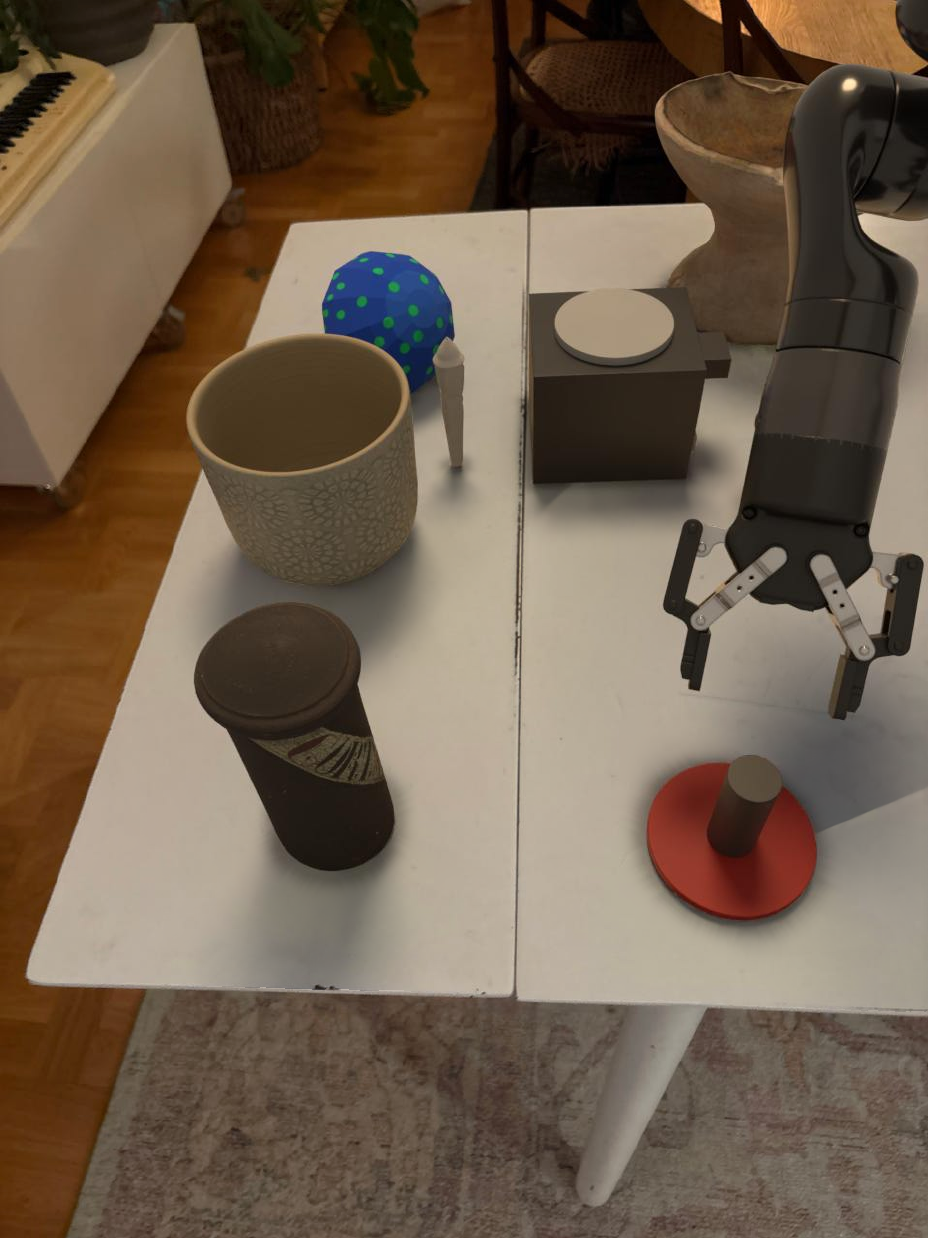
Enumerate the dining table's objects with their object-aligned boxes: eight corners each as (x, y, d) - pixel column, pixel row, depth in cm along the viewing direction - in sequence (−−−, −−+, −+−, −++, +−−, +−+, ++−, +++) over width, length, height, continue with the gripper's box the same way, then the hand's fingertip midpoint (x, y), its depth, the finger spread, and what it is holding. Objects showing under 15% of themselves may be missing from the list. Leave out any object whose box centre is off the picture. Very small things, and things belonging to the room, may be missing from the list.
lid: (794, 766, 64) (826, 698, 57) (831, 920, 57) (873, 865, 51) (638, 769, 65) (651, 702, 58) (656, 922, 58) (674, 867, 51)
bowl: (901, 368, 91) (979, 167, 75) (647, 374, 92) (671, 178, 76) (844, 232, 106) (898, 42, 91) (627, 240, 108) (644, 54, 92)
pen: (439, 460, 86) (426, 332, 75) (465, 452, 86) (456, 324, 75) (448, 477, 85) (436, 349, 74) (475, 468, 85) (467, 340, 74)
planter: (226, 496, 85) (176, 358, 72) (402, 455, 87) (381, 314, 75) (250, 634, 74) (196, 499, 62) (448, 583, 76) (434, 444, 64)
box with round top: (700, 394, 90) (722, 276, 80) (720, 478, 82) (746, 360, 72) (528, 400, 91) (528, 284, 81) (532, 484, 83) (533, 368, 73)
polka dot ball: (334, 247, 96) (410, 196, 83) (424, 346, 102) (506, 312, 90) (258, 341, 91) (327, 302, 79) (357, 438, 98) (435, 416, 85)
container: (370, 894, 60) (315, 741, 44) (250, 856, 62) (157, 697, 47) (416, 782, 65) (381, 609, 49) (303, 750, 67) (235, 574, 52)
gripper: (699, 414, 51) (646, 691, 54) (969, 451, 48) (900, 742, 51) (696, 427, 59) (650, 670, 61) (931, 460, 56) (873, 714, 58)
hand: (764, 702), depth 56 cm, fingers open, 8 cm apart
